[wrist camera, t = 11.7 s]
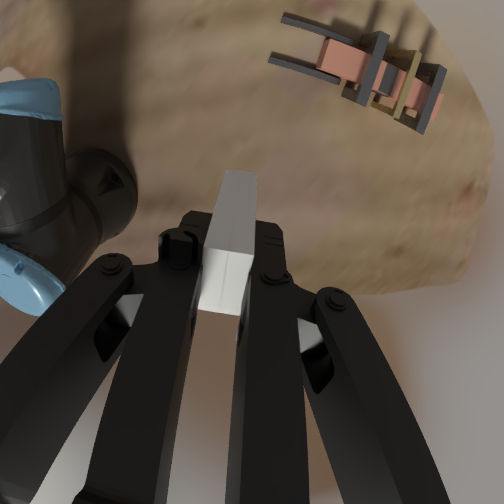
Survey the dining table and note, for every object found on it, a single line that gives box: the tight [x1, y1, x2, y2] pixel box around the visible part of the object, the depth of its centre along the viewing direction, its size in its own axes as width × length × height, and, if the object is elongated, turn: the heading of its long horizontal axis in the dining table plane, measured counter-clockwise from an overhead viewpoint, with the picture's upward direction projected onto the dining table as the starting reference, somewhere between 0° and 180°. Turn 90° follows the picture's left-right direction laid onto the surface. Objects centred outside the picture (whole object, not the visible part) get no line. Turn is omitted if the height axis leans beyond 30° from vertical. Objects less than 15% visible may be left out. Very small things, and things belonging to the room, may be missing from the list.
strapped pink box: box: [316, 39, 444, 121], centre depth 28 cm, size 16×4×4 cm, turn 76°
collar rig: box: [268, 16, 447, 135], centre depth 26 cm, size 19×9×8 cm, turn 75°
